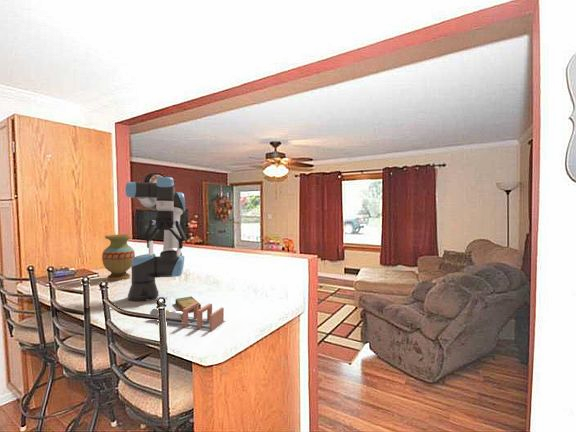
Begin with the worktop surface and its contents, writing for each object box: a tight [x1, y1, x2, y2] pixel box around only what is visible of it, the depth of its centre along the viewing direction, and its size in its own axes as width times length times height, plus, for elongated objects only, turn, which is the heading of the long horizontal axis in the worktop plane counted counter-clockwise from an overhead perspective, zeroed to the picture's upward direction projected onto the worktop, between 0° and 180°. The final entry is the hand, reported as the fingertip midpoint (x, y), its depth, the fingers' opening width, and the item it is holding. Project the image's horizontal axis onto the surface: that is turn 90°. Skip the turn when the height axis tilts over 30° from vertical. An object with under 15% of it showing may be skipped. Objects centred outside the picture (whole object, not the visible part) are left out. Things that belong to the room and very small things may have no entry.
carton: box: [175, 295, 202, 313], centre depth 147 cm, size 8×16×4 cm, turn 33°
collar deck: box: [154, 301, 226, 333], centre depth 127 cm, size 26×12×8 cm, turn 75°
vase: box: [101, 233, 136, 281], centre depth 209 cm, size 20×20×30 cm
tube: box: [149, 308, 183, 322], centre depth 129 cm, size 16×4×4 cm, turn 75°
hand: (164, 255), depth 142 cm, fingers open, 13 cm apart
